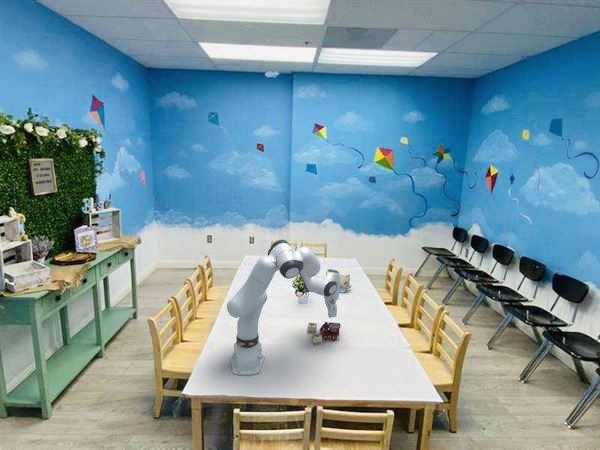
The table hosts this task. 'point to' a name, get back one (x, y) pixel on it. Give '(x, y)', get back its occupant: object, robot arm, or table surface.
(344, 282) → the kitten
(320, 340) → the maple cube one
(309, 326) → the maple cube seven
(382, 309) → the table surface
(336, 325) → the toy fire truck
